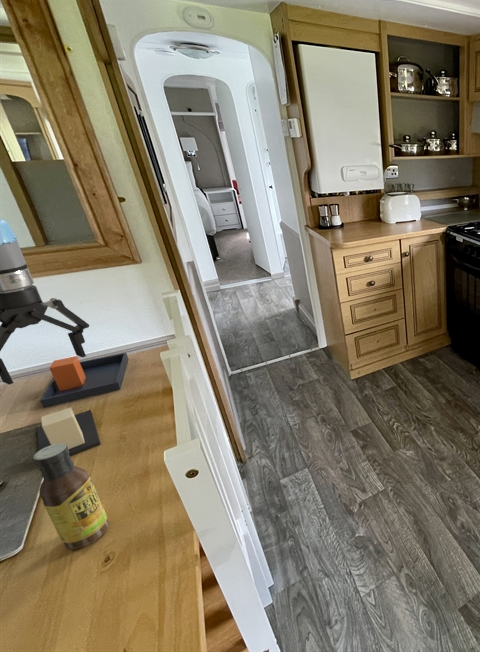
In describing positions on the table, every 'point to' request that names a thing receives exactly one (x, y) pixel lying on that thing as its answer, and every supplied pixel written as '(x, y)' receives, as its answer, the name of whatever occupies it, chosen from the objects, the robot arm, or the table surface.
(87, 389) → the tray
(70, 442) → the cream block
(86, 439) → the mat
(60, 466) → the sauce bottle
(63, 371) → the rust block
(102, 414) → the table surface
